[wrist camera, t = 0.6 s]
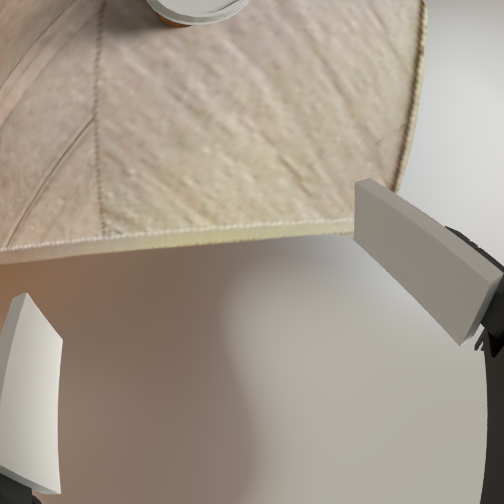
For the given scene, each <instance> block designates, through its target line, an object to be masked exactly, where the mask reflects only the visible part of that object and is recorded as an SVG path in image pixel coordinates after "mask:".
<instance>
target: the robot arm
mask: <svg viewBox="0 0 504 504" xmlns="http://www.w3.org/2000/svg"><path fill="white" fill-rule="evenodd" d="M354 241H355V242H357V244H359V245H360V246H361V247H362V248H363V249H364V250H365V251H366V252H367V253H368V254H369V255H371V257H373V258H374V259H375V260H376V261H377V262H378V263H379V264H380V265H381V266H382V267H383V268H384V269H385V270H386V271H387V272H388V273H390V275H391V276H392V277H393V278H394V279H396V280H397V281H398V282H399V283H400V284H401V285H402V286H403V287H404V288H405V289H406V290H407V291H408V292H409V293H410V294H411V295H412V296H413V297H414V298H415V299H416V300H417V301H418V302H419V303H420V304H421V306H422V307H423V308H424V309H425V310H426V311H427V312H428V313H429V314H430V315H431V316H432V317H433V318H434V319H435V320H436V321H437V322H438V323H439V324H440V325H441V326H442V327H443V329H444V330H445V331H446V332H447V333H448V334H449V335H450V336H451V337H452V338H453V339H454V340H455V342H456V343H457V344H458V345H459V346H461V345H463V344H464V343H465V342H466V341H468V340H469V339H470V338H471V337H473V336H474V334H475V332H476V330H477V329H478V327H479V325H480V323H481V324H482V325H483V327H485V328H484V330H483V332H482V334H481V335H480V337H479V339H478V341H477V342H476V344H475V349H474V350H478V348H479V346H480V345H481V343H482V341H483V346H482V348H481V351H484V355H485V366H486V380H487V402H488V403H487V408H488V419H487V422H488V423H487V427H488V428H487V448H486V462H485V472H484V480H483V488H482V494H481V501H480V504H504V266H502V265H501V264H500V263H499V262H498V261H496V260H495V259H494V258H493V257H491V256H490V255H489V254H488V253H486V252H485V251H484V250H483V249H481V248H478V246H477V245H476V244H475V243H474V242H470V240H469V239H468V238H467V237H466V236H464V235H463V234H461V233H460V232H458V231H456V230H454V229H451V228H449V227H447V226H445V227H444V226H443V225H441V224H440V223H438V222H437V221H436V220H434V219H433V218H431V217H430V216H428V215H427V214H425V213H424V212H422V211H421V210H419V209H418V208H417V207H415V206H413V205H412V204H410V203H409V202H407V201H406V200H404V199H403V198H401V197H399V196H398V195H397V194H395V193H393V192H392V191H390V190H389V189H387V188H385V187H384V186H382V185H380V184H379V183H377V182H376V181H374V180H372V179H371V178H369V179H365V180H362V181H358V182H355V219H354ZM62 343H63V340H62V339H61V338H60V336H59V335H58V334H57V333H56V331H55V330H54V329H53V328H52V326H51V325H50V324H49V322H48V321H47V320H46V318H45V317H44V316H43V314H42V313H41V312H40V310H39V309H38V307H37V306H36V305H35V303H34V302H33V300H32V299H31V298H30V296H29V295H28V293H27V292H26V293H24V294H21V295H19V296H17V297H14V298H13V300H12V302H11V305H10V308H9V311H8V314H7V317H6V321H5V324H4V327H3V330H2V334H1V337H0V504H42V503H41V502H40V501H39V500H38V499H37V498H36V497H35V496H33V495H32V489H34V490H36V491H38V492H41V493H43V494H61V488H60V479H59V464H58V439H57V438H58V437H57V413H58V388H59V373H60V361H61V351H62Z"/></svg>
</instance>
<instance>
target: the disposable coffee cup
mask: <svg viewBox="0 0 504 504" xmlns="http://www.w3.org/2000/svg"><path fill="white" fill-rule="evenodd" d="M146 1H147V2H148V4H149V5H150V6H151V7H152V9H153V10H154V11H156V13H157V15H158V17H159V18H160V19H161V20H162V21H163V22H165V23H166V24H168V25H171V26H174V27H189V26H192V25H208V24H214V23H217V22H220V21H224V20H226V19H228V18H230V17H232V16H234V15H235V14H237V13H238V12H239V11H241V10H242V9H243V8H244V7H245V6H246V5H247V4H248V2H249V1H250V0H146Z"/></svg>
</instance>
